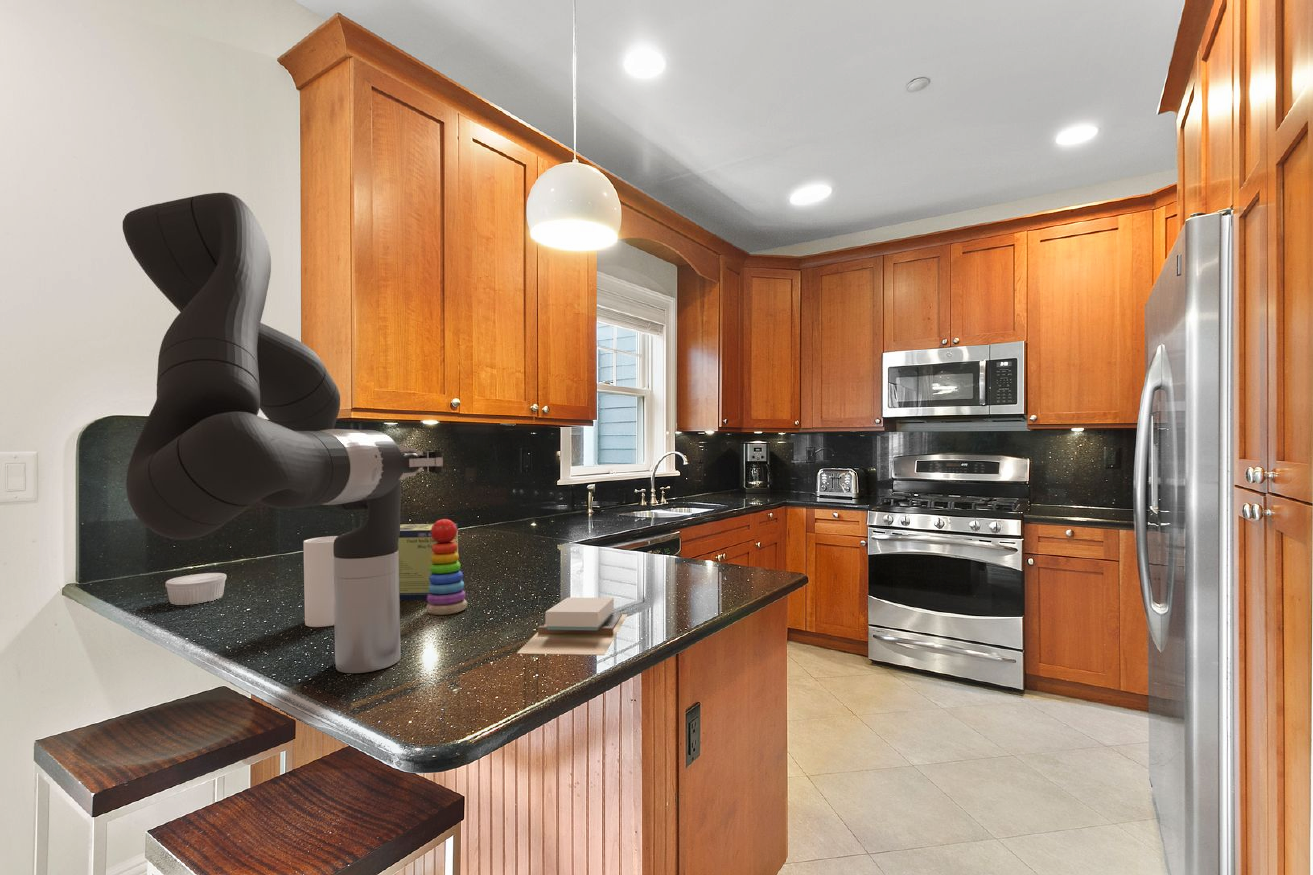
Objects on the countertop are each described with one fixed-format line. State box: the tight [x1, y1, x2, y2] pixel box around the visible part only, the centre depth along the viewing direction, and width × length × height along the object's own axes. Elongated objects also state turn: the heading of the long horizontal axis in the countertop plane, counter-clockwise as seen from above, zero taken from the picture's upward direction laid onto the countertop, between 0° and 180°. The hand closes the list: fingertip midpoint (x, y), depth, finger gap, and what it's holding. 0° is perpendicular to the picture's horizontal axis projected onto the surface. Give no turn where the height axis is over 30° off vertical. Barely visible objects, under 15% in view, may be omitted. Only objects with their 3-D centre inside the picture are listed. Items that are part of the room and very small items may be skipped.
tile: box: [544, 597, 615, 630], centre depth 109 cm, size 3×9×14 cm
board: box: [516, 612, 628, 656], centre depth 106 cm, size 22×14×2 cm, turn 173°
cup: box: [302, 535, 339, 628], centre depth 120 cm, size 8×8×16 cm
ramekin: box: [165, 572, 228, 605], centre depth 139 cm, size 11×11×5 cm
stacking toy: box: [425, 518, 468, 616], centre depth 125 cm, size 8×8×19 cm
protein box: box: [398, 522, 459, 601], centre depth 140 cm, size 10×16×16 cm
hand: (428, 460), depth 80 cm, fingers closed
